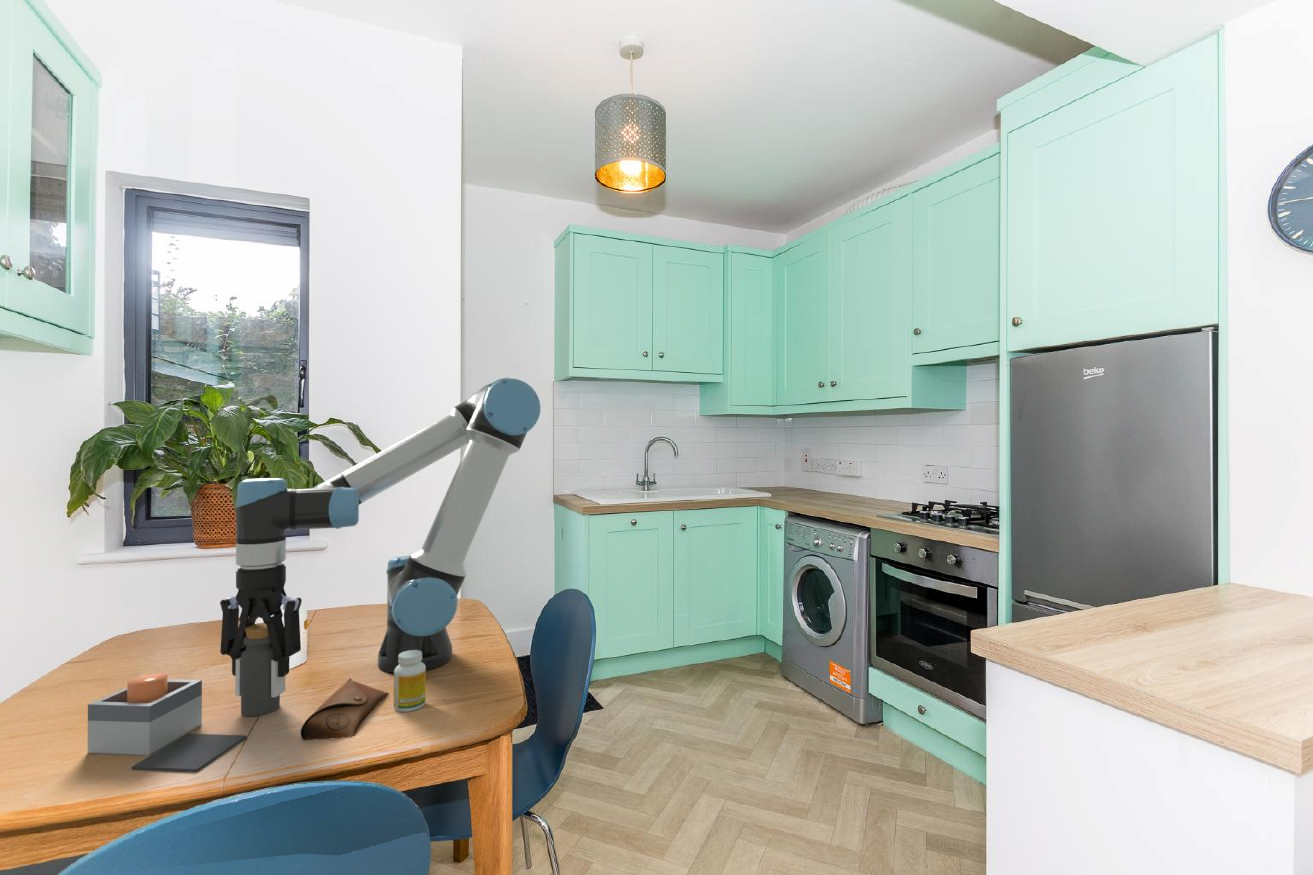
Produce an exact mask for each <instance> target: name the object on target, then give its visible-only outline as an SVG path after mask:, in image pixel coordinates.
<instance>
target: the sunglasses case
mask: <svg viewBox="0 0 1313 875" xmlns="http://www.w3.org/2000/svg"><path fill="white" fill-rule="evenodd" d="M387 696H389V692H386V691H382V690H380V689H377V688H374V687H372V686H369V685H366V684H363V683H360V682H358V681H354V680H353V679H352V678H351V677H350V678H349V679H348V680H347V681H346V682H345V683H344V684H343V685H342V686H341V687H339V688H338V689H337V690H336V691H335V692H334V693H332V695H330V696H329V698H327V699H326V700H325V701H324V702H323V703H322V704H321V705H320V706H318V708H317V709H316V710H315V711H314V712H313V713H312V714H311V715H310V716H309V717H308V718H307V719H306V720H305V721H304V723H303V725H302V726H301V728H300V737H301V739H302V741H314V740H313V739H318V740H329V739H330V740H331V738H334V739H343V738H342V737H346V738H353V737H354V736H355V735H356V734H357V731H358V730H359V728H360V727H361V725H362V724H363V722H364V721H365V720H366V719H367V718H368V717H369V715H370V714H371V713H372V712H373V710H375V708H376V707H377V706H378V705H379V704H380V703H381V701H382V700H384V699H385V698H386V697H387ZM348 736H349V737H348ZM352 736H353V737H352Z"/></svg>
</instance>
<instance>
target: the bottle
mask: <svg viewBox="0 0 1313 875" xmlns="http://www.w3.org/2000/svg"><path fill="white" fill-rule="evenodd" d="M245 631H246V635H247V637H245V638H244V644H245V645H247V646H248V648H247V649H246V650H245V651H243V652H242V654H241V696H240V714H241V715H242V716H244V717H259V716H263V715H267V714H270V713H273V712H274V711H276V710H277V709H279V708H280V706H281V704H280V702H281V694H280V695H278V696H277V697H271V660H273V659H274V658H276V656H275V653H274V649H273V646H272V642H271V639H270V635H269V632H268V628H267V625H266V624H265V623H264V622H258V623H255V624H253V625H251V626H248V627H246V628H245Z"/></svg>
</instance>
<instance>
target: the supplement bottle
mask: <svg viewBox="0 0 1313 875" xmlns="http://www.w3.org/2000/svg"><path fill="white" fill-rule="evenodd" d="M421 660H422V652H421V651H419V650H409V651H405V652H402V653H400V654H399V656H398V662H399V665H398V666H397V667H396V668H395V670H394V673H393V708H394V710H395V711H397V712H401V713H410V712H414V711H418V710H420V709H422V708H423V707H424V705H425V703H426V688H427V687H426V681H427V679H426V678H427V676H426V674H427V673H426V672H427V670H426V666H425V664H424V663H422V662H420V661H421Z"/></svg>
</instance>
